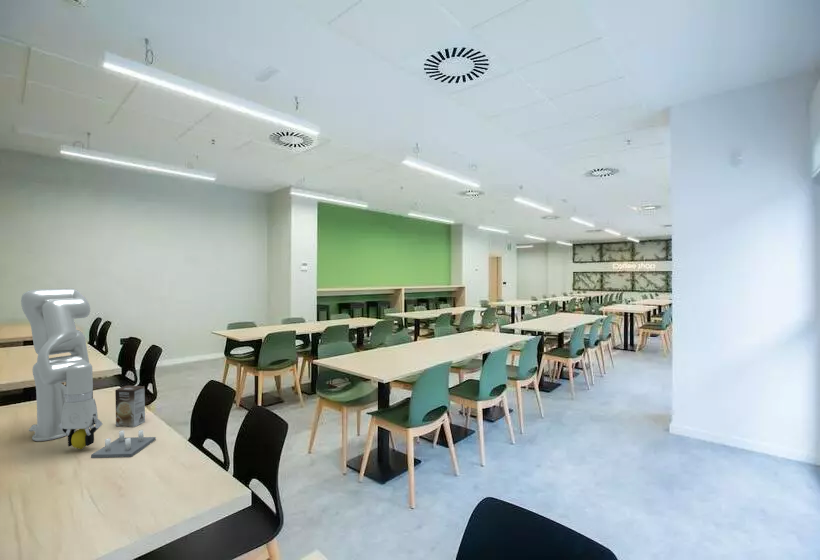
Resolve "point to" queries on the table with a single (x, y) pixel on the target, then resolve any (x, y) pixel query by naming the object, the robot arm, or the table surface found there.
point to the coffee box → (130, 405)
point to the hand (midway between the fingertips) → (81, 444)
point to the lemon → (79, 439)
